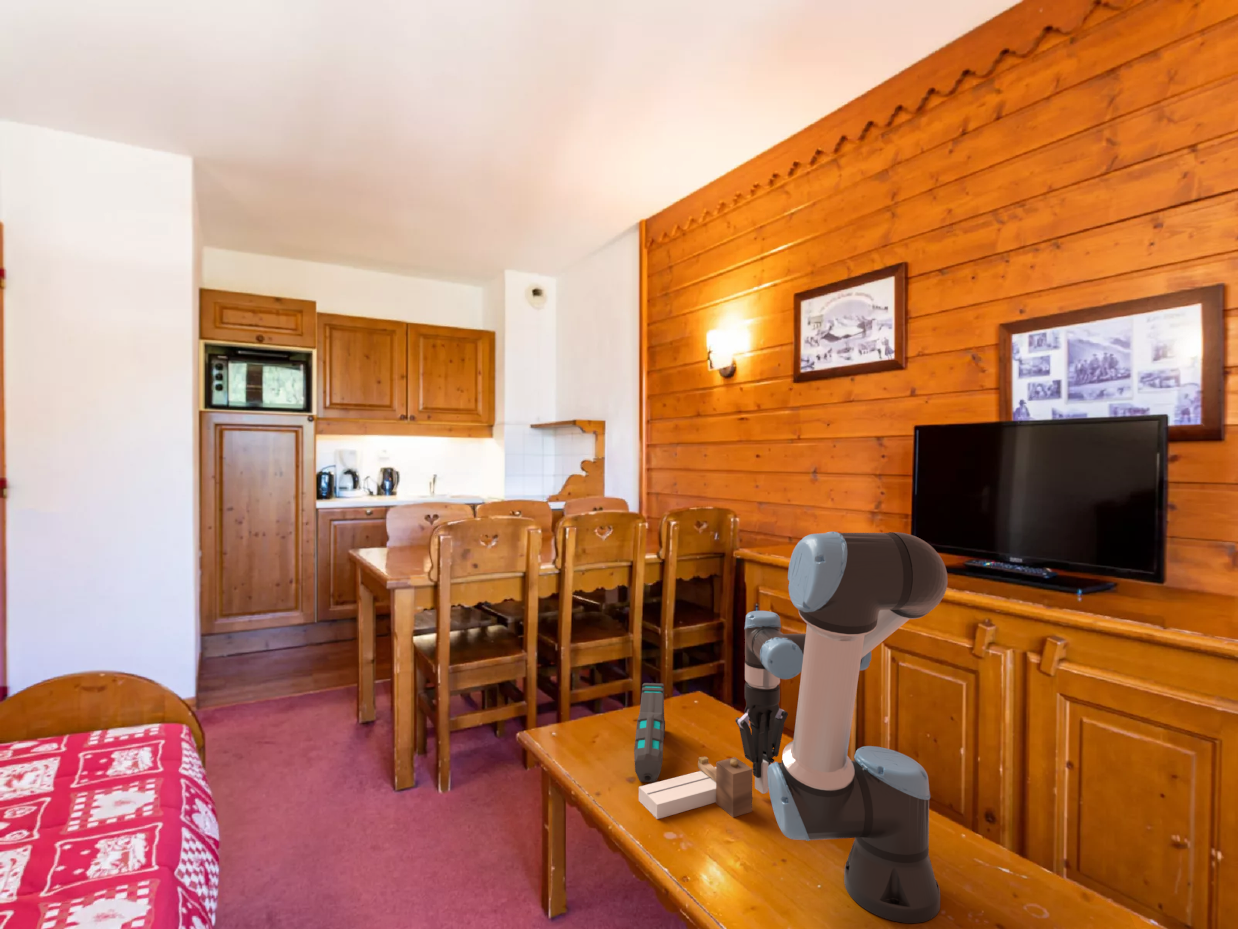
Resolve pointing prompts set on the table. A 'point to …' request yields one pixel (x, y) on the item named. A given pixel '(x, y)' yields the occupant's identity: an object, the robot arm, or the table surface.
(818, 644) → the robot arm
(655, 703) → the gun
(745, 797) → the brown wooden clamp
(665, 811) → the board
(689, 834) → the table surface
